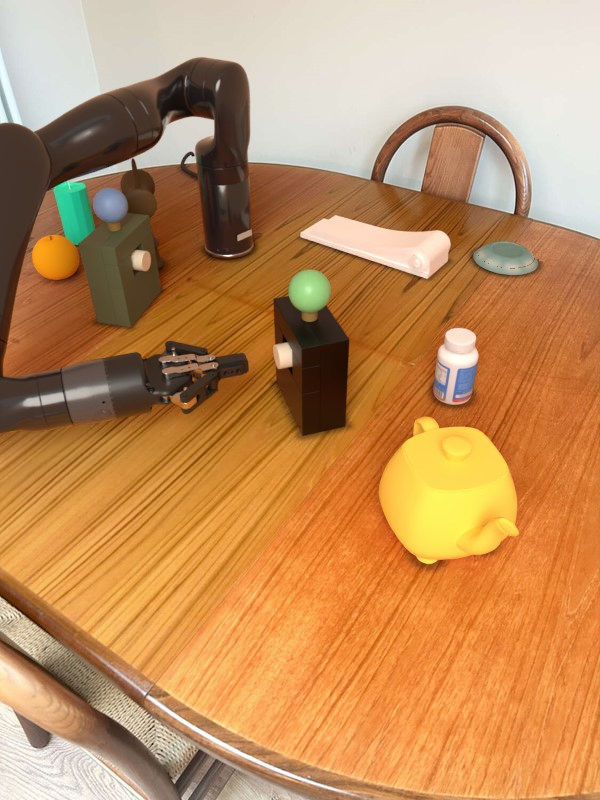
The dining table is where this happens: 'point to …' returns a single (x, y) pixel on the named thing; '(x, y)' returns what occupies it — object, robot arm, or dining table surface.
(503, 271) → the saucer
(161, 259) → the kendama
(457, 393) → the pill bottle
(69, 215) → the candle
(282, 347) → the stubby beige cylinder
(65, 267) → the orange fruit
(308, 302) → the dark block with knob
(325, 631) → the dining table surface
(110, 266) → the olive block with peg
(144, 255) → the peach round puck
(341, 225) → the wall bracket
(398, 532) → the teapot
